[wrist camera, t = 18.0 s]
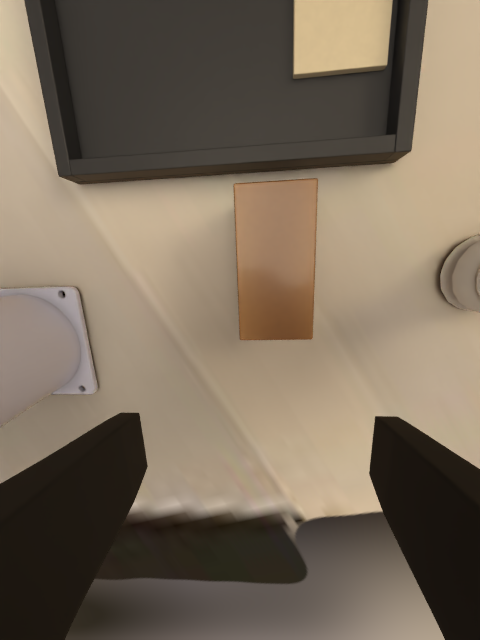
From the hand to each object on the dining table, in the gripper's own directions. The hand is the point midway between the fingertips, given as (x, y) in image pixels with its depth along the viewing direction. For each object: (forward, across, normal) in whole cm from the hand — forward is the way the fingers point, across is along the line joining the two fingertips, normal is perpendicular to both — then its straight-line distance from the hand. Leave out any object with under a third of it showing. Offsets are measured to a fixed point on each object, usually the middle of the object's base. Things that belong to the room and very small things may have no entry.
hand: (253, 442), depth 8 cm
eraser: (+10, -1, -5) cm, 11 cm away
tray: (+10, +2, -16) cm, 19 cm away
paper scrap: (+9, -4, -16) cm, 19 cm away
